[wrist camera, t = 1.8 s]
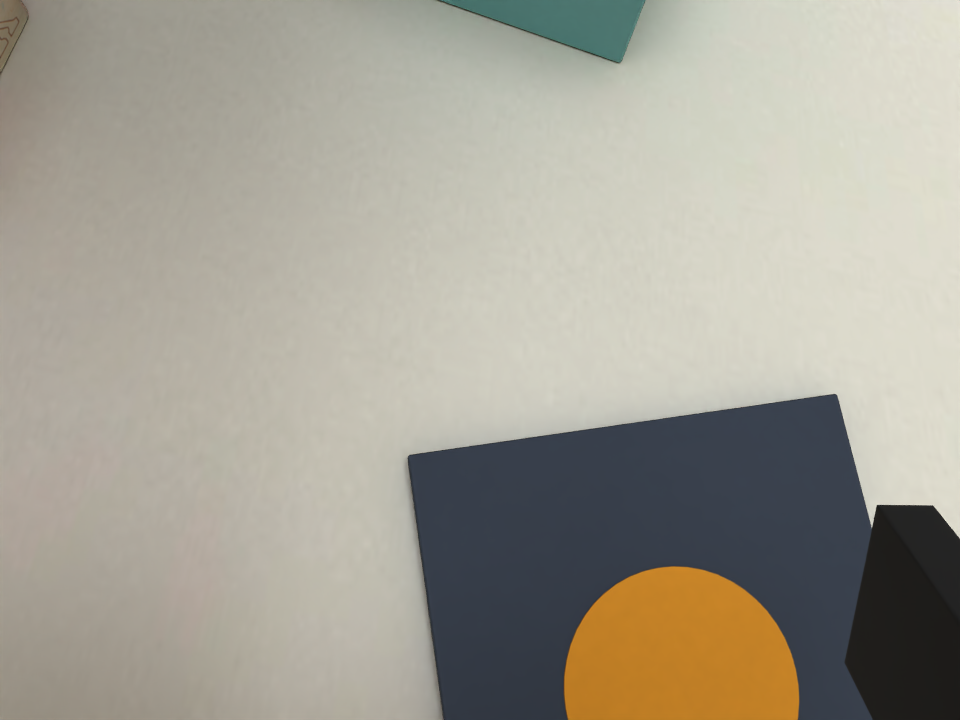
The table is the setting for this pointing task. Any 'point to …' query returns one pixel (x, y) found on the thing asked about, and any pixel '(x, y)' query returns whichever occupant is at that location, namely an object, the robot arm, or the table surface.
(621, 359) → the table surface
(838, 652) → the mat
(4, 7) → the stack of blocks
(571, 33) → the teal box
